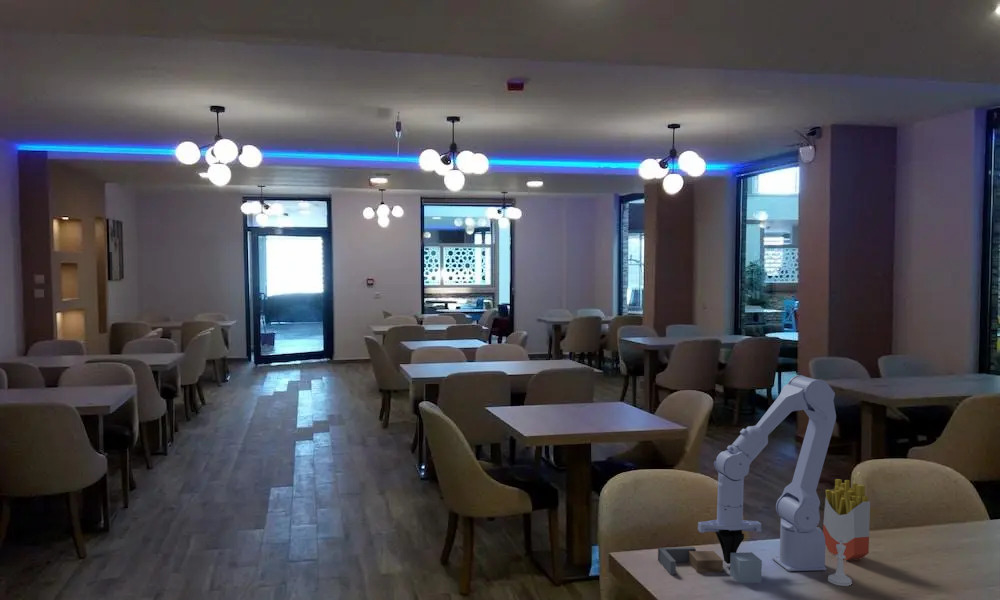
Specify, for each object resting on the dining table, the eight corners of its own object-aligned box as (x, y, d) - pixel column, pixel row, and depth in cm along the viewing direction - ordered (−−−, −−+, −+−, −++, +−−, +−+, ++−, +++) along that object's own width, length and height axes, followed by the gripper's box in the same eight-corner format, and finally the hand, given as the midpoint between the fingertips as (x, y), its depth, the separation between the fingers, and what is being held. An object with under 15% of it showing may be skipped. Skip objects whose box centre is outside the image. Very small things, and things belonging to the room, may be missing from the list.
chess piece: (854, 587, 164) (856, 541, 164) (830, 584, 165) (831, 539, 165) (848, 578, 169) (850, 534, 169) (825, 576, 170) (826, 532, 170)
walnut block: (713, 563, 177) (713, 550, 177) (722, 573, 171) (722, 560, 171) (688, 563, 177) (688, 551, 177) (696, 573, 171) (697, 560, 171)
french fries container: (852, 565, 177) (854, 488, 177) (821, 549, 188) (823, 477, 187) (868, 563, 178) (870, 487, 178) (836, 547, 189) (839, 476, 188)
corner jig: (693, 559, 179) (693, 547, 178) (707, 573, 170) (708, 560, 170) (657, 560, 178) (658, 547, 178) (670, 574, 169) (670, 561, 169)
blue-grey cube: (751, 574, 170) (751, 552, 170) (761, 583, 165) (761, 560, 165) (729, 574, 170) (730, 552, 170) (739, 583, 165) (739, 560, 165)
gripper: (752, 498, 179) (750, 555, 179) (693, 499, 177) (692, 556, 178) (766, 507, 172) (764, 566, 172) (704, 508, 170) (703, 567, 171)
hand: (728, 562), depth 174 cm, fingers closed
